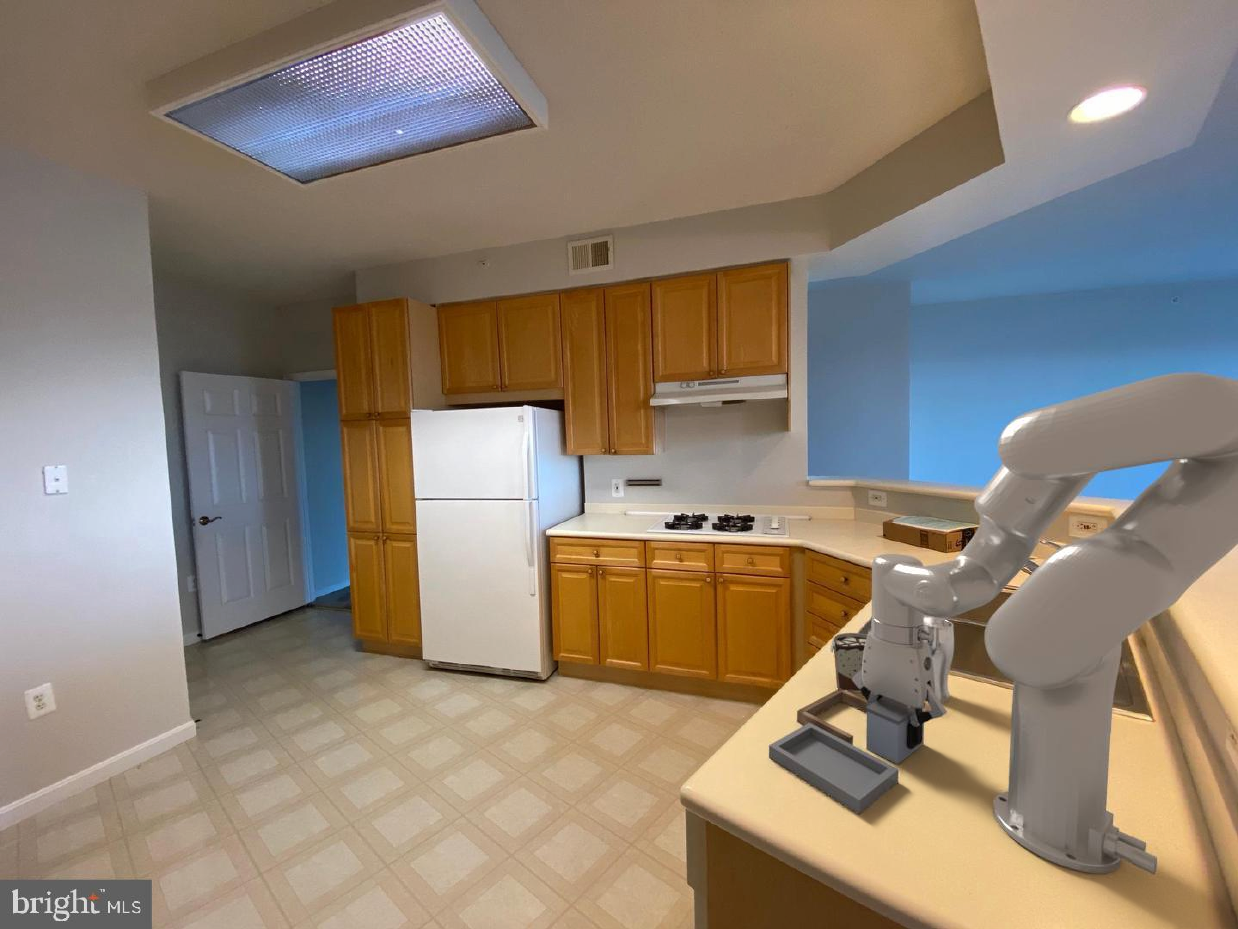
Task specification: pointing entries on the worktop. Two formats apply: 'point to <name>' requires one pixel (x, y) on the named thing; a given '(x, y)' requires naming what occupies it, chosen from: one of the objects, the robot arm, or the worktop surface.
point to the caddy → (889, 730)
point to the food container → (848, 658)
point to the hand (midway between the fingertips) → (895, 736)
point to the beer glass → (940, 652)
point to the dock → (824, 704)
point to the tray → (834, 766)
